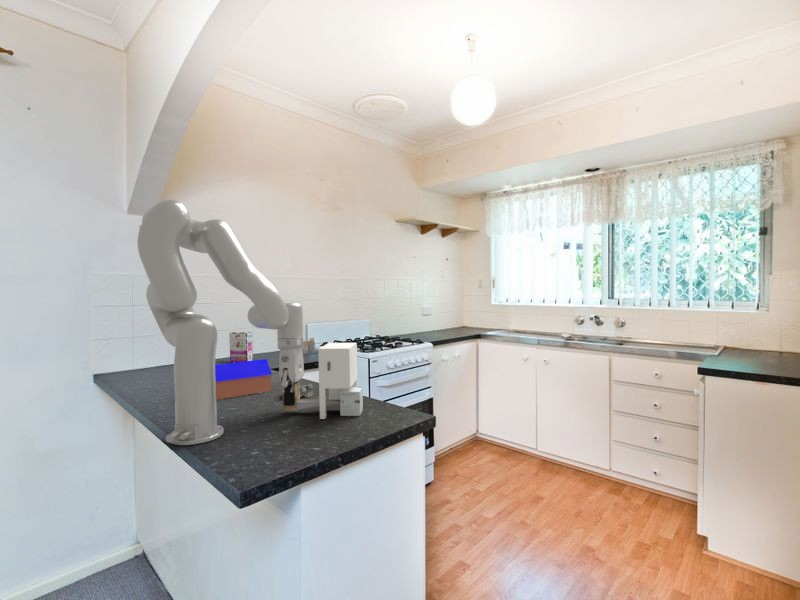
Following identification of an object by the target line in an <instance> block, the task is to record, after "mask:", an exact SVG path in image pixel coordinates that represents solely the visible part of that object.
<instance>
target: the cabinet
mask: <svg viewBox="0 0 800 600" xmlns="http://www.w3.org/2000/svg"><path fill="white" fill-rule="evenodd" d="M357 343H358V342H328V343H326V344H324V345H323V346H321V347H319V348H318V385H319V387H318V389H319V390H318V391H319V392H318V394H319V395H318V396H319V398H318V400H319V401H320V410H319V420H320V419H325V418H326V419H327V410H326V400H327V395H326V394H327V390H326V389H328V400H340V391H341V390H342V389H343V388H351V387H359V385H358V344H357ZM326 419H325V420H326Z"/></svg>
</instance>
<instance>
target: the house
mask: <svg viewBox="0 0 800 600" xmlns="http://www.w3.org/2000/svg"><path fill="white" fill-rule="evenodd" d="M215 374H216V401H218V400H217V399H221V400H225V399H224V398H227V399H230V398H229V397H233V398H237V397H236V396H240V397H243V396H242V395H246V396H249V395H248V394H253V393H259V394H261V393H260V392H265V393H267V392H266V391H271V392H272V380H271V378H272V377H271V376H272V371H271V368H270V366H269V362H268V358H265V359H257V360H256V359H255V360H254V359H253V361H244V362H235V363H230V362H228V363H218V364H215ZM253 395H254V394H253Z"/></svg>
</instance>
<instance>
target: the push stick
mask: <svg viewBox="0 0 800 600" xmlns="http://www.w3.org/2000/svg"><path fill="white" fill-rule="evenodd" d="M288 382H291V381H289V380H288ZM288 385H290V387H291V384H288ZM300 385H301V383H300V380H299V381H297V382H294V386H293V392H295V405H293V406H284V396H283V395H282V411H283V412H284V411H285V412H286V411H291V412H292V411H293V412H296V411H320V401H319V399H301V398H300ZM326 411H340V400H329V399H326Z"/></svg>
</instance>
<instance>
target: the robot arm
mask: <svg viewBox="0 0 800 600" xmlns="http://www.w3.org/2000/svg"><path fill="white" fill-rule="evenodd" d="M189 212H190V211H189V210H188V208H187V206H185V204H183V203H182V202H181V201H179V200H175V199H164V200H161V201H159V202H157V203H155V204H153V205H152V206H151V207H150V208H148V209H147V210H146V211H145V213H143V215H142V219H141V225H140V227H139V231H138V233H137V250H138V255H139V258H140V261H141V263H142V266H143V267H144V270H145V273H146V276H147V278H148V280H149V284H148V286H147V288H146V294H145V295H146V301H147V305H148V306H149V308H150V311H151V312H152V315H153V317H154V320H155V321H156V324H157V325H158V328H159V330H160V332H161V334H162V336H163V337H164V339H165V340H166V342H167V343H168V344H169V345H171V346H172V347H175V348H174V349H175V350H174V360H173V379H174V380H173V381H174V383H173V384H174V414H175V415H174V417H175V418H174V420H175V424H174V427H173V428H174V430H173V431H172V432H170V433H169V434H167V435H166V436H165V441H166V442H167V443H170V444H172V445H175V446H176V445H177V446H193V445H198V444H199V445H200V444H204V443H208V442H210V441H214V440H216V439H219V438H221V436H222V435H223V434H224V432H225V431H224V427H223V425H220V424H218V419H217V418H218V415H217V414H218V413H217V411H218V410H217V400H216V374H215V365H216V354H217V346H218V329H217V327H216V325H215V323H214V322H213V320H211V319H210V318H209V317H208V316H205V315H202V314H199V313H196V312H195V310H194V307H193V306H194V305H195V303H196V301H197V298H198V294H197V293H198V292H197V289H196V286H195V285H194V282H193V280H192V278H191V276H190V273H189V271H188V269H187V266H186V265H185V262H184V260H183V256H182V254H181V251H180V248H182V249H187V250H189V251H193V252H197V253H201V254H207V255H208V256H209V258H210V259H211V261H212V263H214V265H215V267H216V268H217V270H218V271H219V274H220V275H221V277H222V279H224V281H225V282H226V283H227V284H228V285H230V286H231V287H233V288H235V289H236V290H238V291H239V292H241V293H242V294H244V295H245V296H246V297H247V298H248V299H249V300H250V301H251V302H252V303H253V305H252V306H251V307H250V308H249V309H248V311H247V320H248V322H249V323H250V324H251V325H252V326H253V327H254V328H258V329H264V330H265V329H267V330H273V331H274V330H275V331H276V330H277V331H276V332H277V334H276V335H277V336H276V337H277V349H278V350H279V359H278V360H279V361H278V366H279V367H278V375H279V382H280V383H281V387H282V390H283V393H282V397H283V396H284V406H293V405H295V392H293V386H294V382H297V381H300V380H301V379H302V378H303V377H304V376H305V367H304V364H305V363H304V354H303V352H302V348H303V342H304V326H303V325H304V323H303V322H304V321H303V306H302V304H301V303H299V302H284V299H283V298H282V296H281V295H280V293H279V291H278V290H277V288H276V287H275V286H274V285H273V284H272V283H271V281H270V280H268V279H267V278H266V277H265V275H263V273H262V272H261V271H259V270H258V269H257V267H255V265H254V264H253V262H252V261H251V258H250V257H249V255H248V254H247V253H246V250H245V249H244V247H243V245H242V244H241V242H240V241H239V239H238V237H237V236H236V234H235V233H234V231H233V230H232V228H231V226H230V225H229V224H228V223H227V222H226V221H224V220H221V219H216V218H214V219H208V220H206V221H199V220H195V219H192V218H191V216H190V213H189ZM288 381H291V382H288ZM288 384H291V387H290V385H288Z"/></svg>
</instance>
